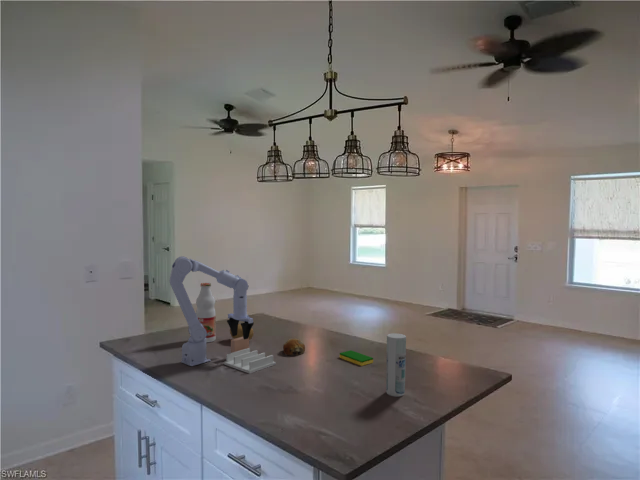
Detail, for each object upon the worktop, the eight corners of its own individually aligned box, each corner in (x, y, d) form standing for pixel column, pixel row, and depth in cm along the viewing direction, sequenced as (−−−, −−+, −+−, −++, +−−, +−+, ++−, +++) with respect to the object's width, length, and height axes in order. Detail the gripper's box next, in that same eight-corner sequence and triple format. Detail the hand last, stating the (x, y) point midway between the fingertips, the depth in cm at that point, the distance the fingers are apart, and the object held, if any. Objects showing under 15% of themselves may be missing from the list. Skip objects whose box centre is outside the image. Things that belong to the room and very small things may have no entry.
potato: (243, 346, 205) (243, 329, 205) (224, 340, 214) (225, 324, 214) (259, 341, 212) (259, 325, 212) (240, 336, 222) (240, 321, 221)
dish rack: (249, 373, 169) (249, 363, 169) (223, 364, 179) (223, 354, 179) (275, 364, 180) (275, 354, 179) (249, 356, 190) (250, 347, 190)
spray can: (391, 387, 156) (392, 332, 155) (408, 392, 152) (409, 335, 151) (382, 393, 151) (383, 335, 150) (399, 398, 147) (400, 339, 146)
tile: (234, 359, 186) (234, 340, 185) (230, 358, 187) (230, 339, 187) (249, 355, 192) (249, 337, 191) (245, 353, 193) (245, 336, 193)
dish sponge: (361, 367, 179) (361, 361, 179) (338, 358, 190) (339, 352, 190) (373, 363, 183) (373, 357, 183) (350, 355, 194) (351, 349, 194)
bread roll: (305, 358, 199) (306, 340, 202) (303, 355, 190) (304, 336, 193) (284, 357, 200) (285, 340, 203) (280, 354, 191) (282, 336, 194)
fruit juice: (219, 338, 217) (219, 282, 215) (208, 344, 208) (208, 285, 207) (203, 337, 220) (203, 281, 219) (191, 341, 211) (191, 284, 210)
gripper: (258, 306, 187) (258, 338, 187) (236, 302, 196) (236, 332, 197) (245, 309, 181) (245, 341, 182) (223, 304, 191) (224, 335, 191)
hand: (240, 337), depth 189 cm, fingers open, 7 cm apart
